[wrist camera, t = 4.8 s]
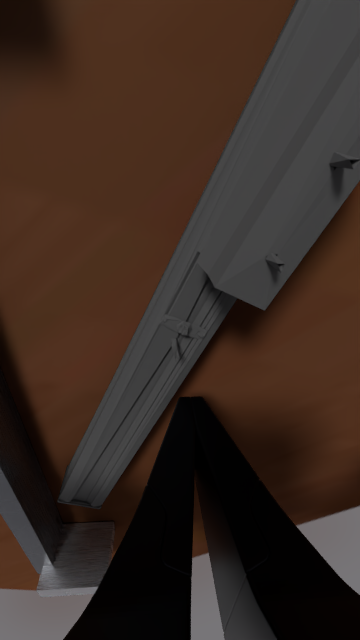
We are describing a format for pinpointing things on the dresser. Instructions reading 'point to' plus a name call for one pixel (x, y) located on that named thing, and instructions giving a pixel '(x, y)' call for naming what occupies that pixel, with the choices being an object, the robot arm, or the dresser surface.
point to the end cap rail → (46, 516)
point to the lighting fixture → (239, 229)
